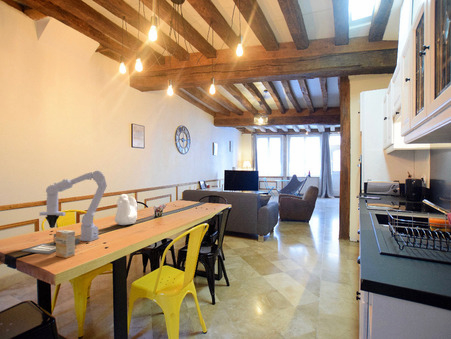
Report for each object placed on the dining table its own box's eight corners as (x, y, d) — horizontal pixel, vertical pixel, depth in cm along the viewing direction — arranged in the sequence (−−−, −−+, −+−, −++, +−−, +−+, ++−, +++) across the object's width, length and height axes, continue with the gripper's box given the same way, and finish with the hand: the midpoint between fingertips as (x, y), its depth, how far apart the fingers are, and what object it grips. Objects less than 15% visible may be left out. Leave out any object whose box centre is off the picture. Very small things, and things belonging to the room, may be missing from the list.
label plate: (68, 247, 138) (68, 245, 138) (48, 254, 127) (48, 253, 127) (42, 244, 142) (42, 243, 142) (21, 251, 130) (21, 249, 130)
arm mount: (62, 243, 145) (62, 242, 145) (55, 245, 141) (55, 244, 140) (56, 242, 146) (56, 241, 146) (49, 245, 141) (49, 243, 141)
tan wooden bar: (51, 243, 142) (51, 234, 142) (58, 241, 145) (58, 233, 145) (72, 247, 135) (72, 238, 135) (79, 245, 139) (79, 236, 138)
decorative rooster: (125, 228, 182) (125, 195, 182) (109, 226, 188) (109, 194, 188) (147, 221, 205) (147, 192, 205) (132, 219, 211) (132, 191, 211)
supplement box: (55, 256, 124) (55, 231, 124) (64, 253, 129) (64, 228, 129) (66, 258, 121) (66, 232, 121) (75, 255, 126) (75, 230, 126)
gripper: (68, 204, 148) (68, 226, 149) (45, 203, 149) (45, 225, 149) (60, 206, 141) (60, 229, 142) (36, 205, 142) (36, 228, 142)
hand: (52, 227), depth 145 cm, fingers closed
